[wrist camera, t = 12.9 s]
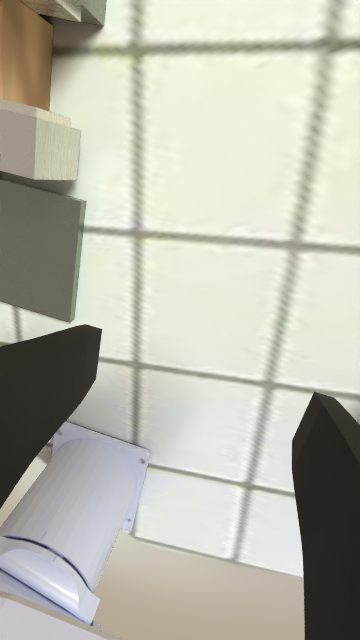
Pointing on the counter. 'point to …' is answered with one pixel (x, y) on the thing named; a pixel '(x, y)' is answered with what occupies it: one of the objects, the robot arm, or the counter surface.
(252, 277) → the counter surface
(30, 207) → the vise body
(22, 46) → the block
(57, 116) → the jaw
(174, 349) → the counter surface
